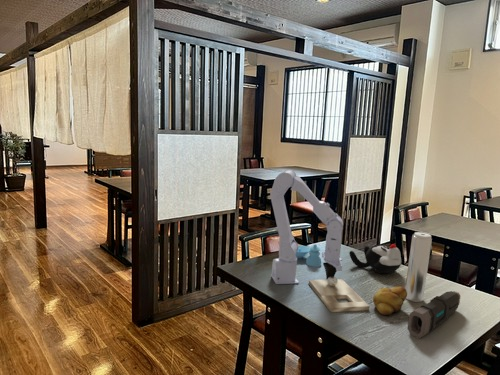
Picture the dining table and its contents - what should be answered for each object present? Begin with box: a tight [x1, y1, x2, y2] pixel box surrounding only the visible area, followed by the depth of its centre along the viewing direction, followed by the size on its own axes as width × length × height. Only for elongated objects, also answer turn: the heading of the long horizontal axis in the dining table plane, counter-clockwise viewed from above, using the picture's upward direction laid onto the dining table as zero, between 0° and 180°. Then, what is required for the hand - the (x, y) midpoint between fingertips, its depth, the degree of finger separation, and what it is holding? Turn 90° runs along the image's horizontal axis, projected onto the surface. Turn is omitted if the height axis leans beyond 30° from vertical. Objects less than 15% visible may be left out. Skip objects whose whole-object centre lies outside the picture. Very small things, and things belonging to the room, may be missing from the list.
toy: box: [348, 243, 402, 275], centre depth 160 cm, size 16×17×20 cm
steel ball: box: [327, 276, 338, 287], centre depth 137 cm, size 4×4×4 cm
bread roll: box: [372, 286, 407, 316], centre depth 125 cm, size 13×10×8 cm
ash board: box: [308, 278, 370, 313], centre depth 133 cm, size 14×22×2 cm, turn 11°
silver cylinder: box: [404, 231, 433, 303], centre depth 133 cm, size 6×6×25 cm
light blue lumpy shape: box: [295, 244, 322, 268], centre depth 167 cm, size 18×10×9 cm, turn 37°
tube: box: [407, 290, 461, 339], centre depth 118 cm, size 11×7×30 cm
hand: (329, 281), depth 140 cm, fingers closed, pressing on steel ball
